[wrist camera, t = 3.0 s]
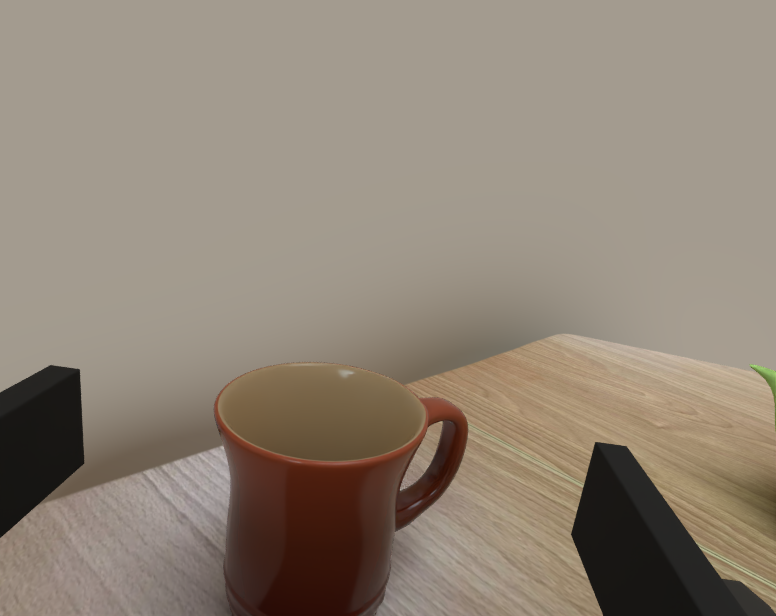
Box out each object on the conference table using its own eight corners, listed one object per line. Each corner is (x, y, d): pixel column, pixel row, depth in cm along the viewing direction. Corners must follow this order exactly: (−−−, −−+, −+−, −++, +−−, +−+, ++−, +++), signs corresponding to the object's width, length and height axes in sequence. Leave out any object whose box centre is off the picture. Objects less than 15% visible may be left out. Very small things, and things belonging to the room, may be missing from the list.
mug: (229, 728, 20) (242, 485, 17) (193, 557, 27) (197, 369, 24) (489, 622, 26) (533, 430, 23) (399, 506, 33) (423, 351, 30)
